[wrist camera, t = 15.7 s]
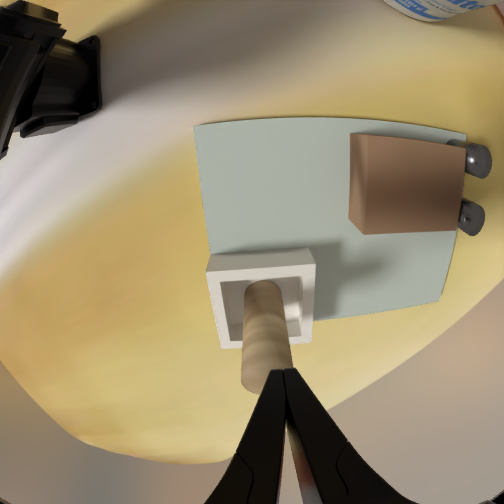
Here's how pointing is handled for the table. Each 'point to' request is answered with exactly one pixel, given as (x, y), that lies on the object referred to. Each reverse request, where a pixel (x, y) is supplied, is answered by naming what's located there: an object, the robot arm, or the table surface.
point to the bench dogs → (480, 167)
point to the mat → (316, 210)
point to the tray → (255, 269)
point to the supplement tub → (437, 7)
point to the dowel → (263, 335)
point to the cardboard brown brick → (404, 184)
